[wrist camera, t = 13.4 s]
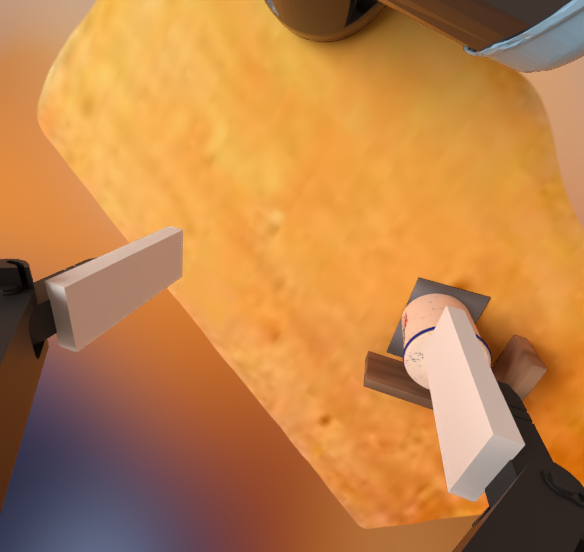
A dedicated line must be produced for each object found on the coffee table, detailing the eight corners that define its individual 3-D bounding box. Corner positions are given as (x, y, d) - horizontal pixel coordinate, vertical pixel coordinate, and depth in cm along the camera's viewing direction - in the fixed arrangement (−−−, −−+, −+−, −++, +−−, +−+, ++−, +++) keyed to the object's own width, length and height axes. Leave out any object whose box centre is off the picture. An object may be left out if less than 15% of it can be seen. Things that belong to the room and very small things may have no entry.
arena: (399, 272, 41) (402, 292, 36) (544, 312, 38) (569, 341, 33) (365, 358, 48) (363, 386, 43) (485, 397, 45) (498, 432, 40)
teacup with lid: (388, 304, 43) (390, 358, 33) (456, 280, 39) (481, 332, 29) (423, 369, 46) (434, 436, 36) (490, 352, 42) (524, 422, 32)
